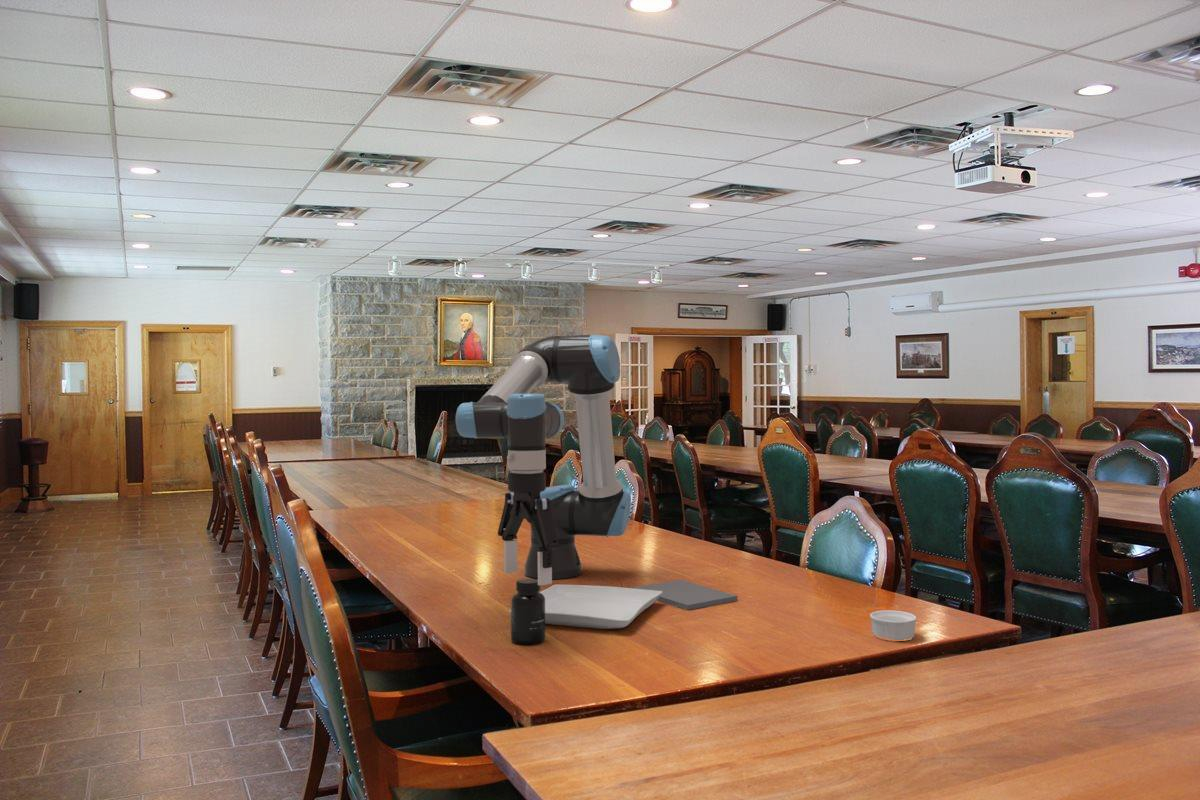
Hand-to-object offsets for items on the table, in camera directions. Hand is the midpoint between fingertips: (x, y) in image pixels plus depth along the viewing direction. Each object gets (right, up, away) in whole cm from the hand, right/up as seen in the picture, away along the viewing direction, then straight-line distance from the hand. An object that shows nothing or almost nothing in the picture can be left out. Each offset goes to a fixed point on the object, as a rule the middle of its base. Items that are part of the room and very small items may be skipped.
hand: (527, 578), depth 181 cm
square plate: (+12, -13, +21) cm, 27 cm away
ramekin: (+73, -12, +2) cm, 74 cm away
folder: (+34, -11, +36) cm, 51 cm away
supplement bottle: (0, -13, +1) cm, 13 cm away
